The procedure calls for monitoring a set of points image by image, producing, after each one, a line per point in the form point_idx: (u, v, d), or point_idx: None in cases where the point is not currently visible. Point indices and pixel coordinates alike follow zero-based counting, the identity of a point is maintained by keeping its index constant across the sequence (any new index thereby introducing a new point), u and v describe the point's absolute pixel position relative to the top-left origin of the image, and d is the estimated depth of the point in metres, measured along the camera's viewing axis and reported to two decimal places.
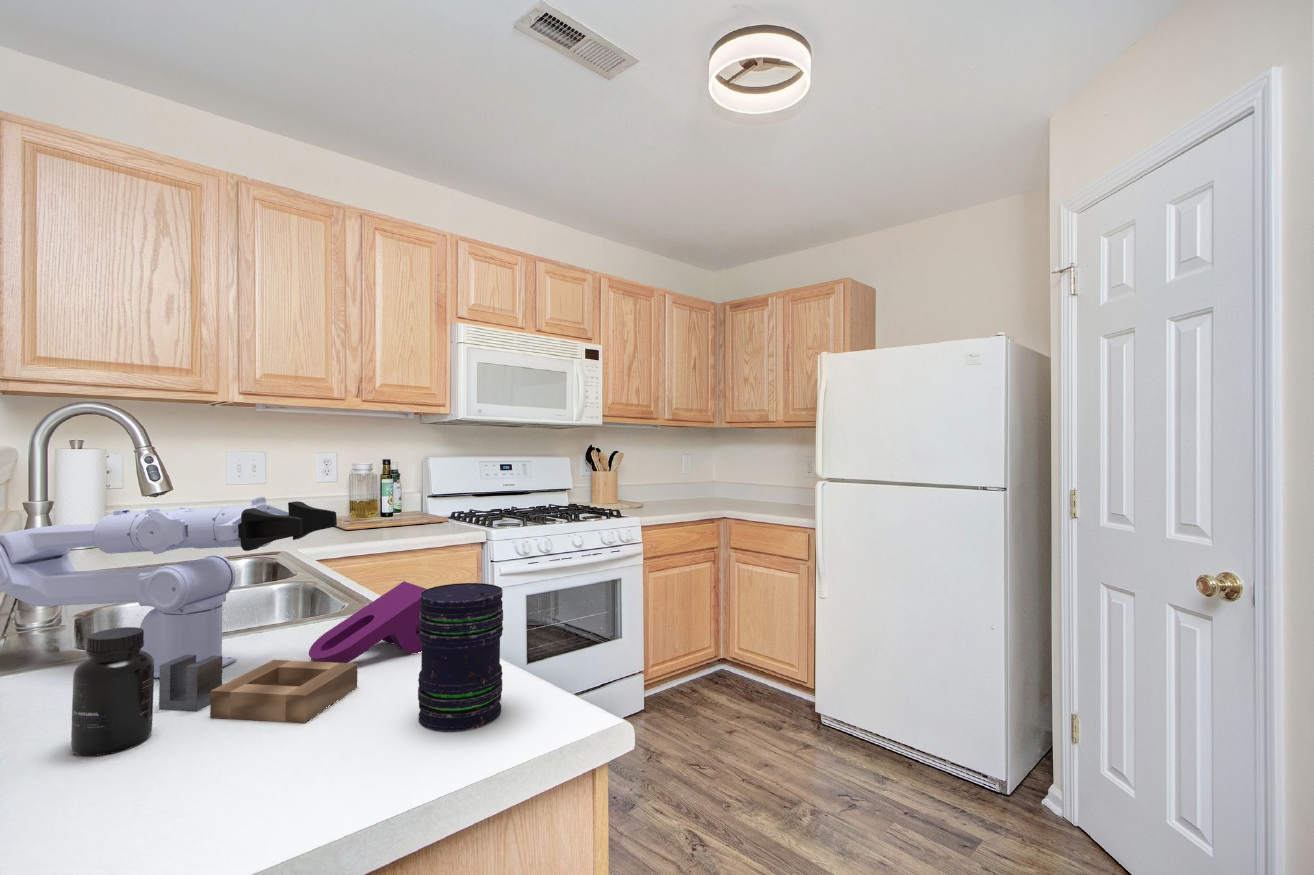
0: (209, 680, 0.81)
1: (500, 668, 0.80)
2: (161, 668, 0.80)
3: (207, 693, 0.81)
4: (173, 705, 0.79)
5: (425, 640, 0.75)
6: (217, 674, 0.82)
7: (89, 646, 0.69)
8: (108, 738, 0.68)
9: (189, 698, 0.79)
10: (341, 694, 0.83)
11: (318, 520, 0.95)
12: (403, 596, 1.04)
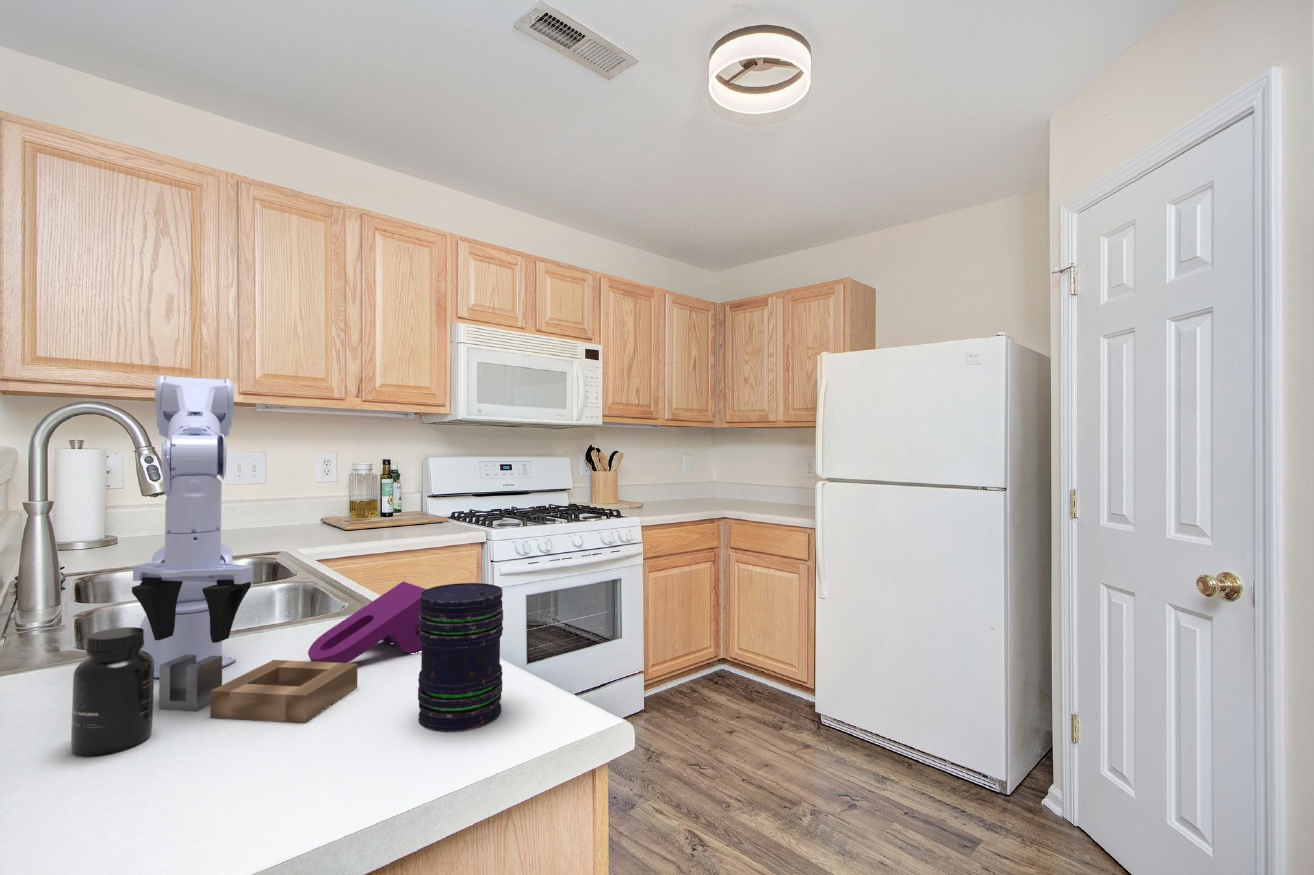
0: (209, 680, 0.81)
1: (500, 668, 0.80)
2: (161, 668, 0.79)
3: (207, 693, 0.81)
4: (173, 705, 0.79)
5: (425, 640, 0.75)
6: (217, 674, 0.82)
7: (89, 646, 0.69)
8: (108, 738, 0.68)
9: (189, 698, 0.79)
10: (341, 694, 0.83)
11: None
12: (402, 597, 1.04)
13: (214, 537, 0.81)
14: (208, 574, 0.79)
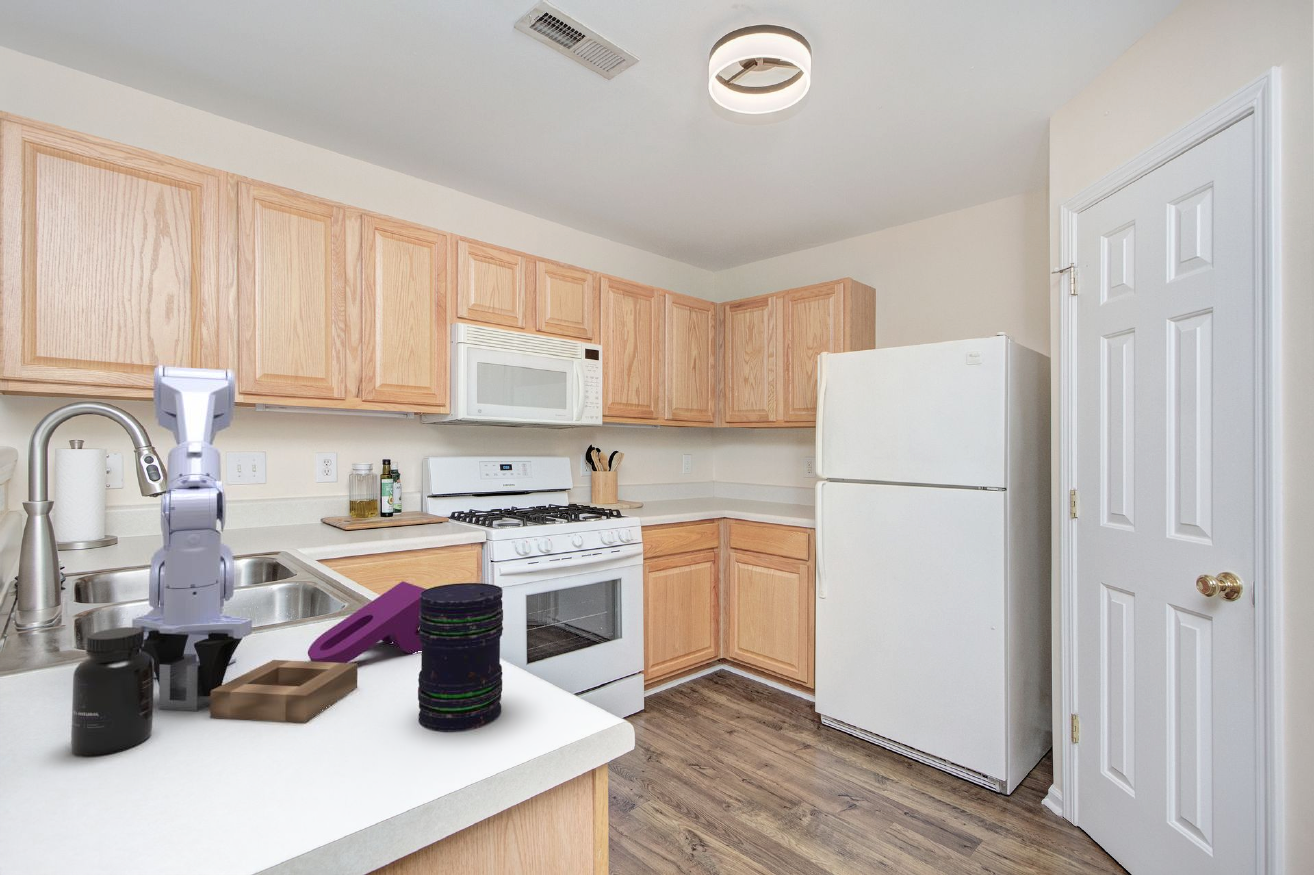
0: None
1: (500, 668, 0.80)
2: (161, 667, 0.79)
3: None
4: (173, 704, 0.79)
5: (425, 640, 0.75)
6: None
7: (89, 646, 0.69)
8: (108, 738, 0.68)
9: (189, 698, 0.79)
10: (341, 694, 0.83)
11: None
12: (402, 596, 1.04)
13: (213, 590, 0.81)
14: (207, 629, 0.79)
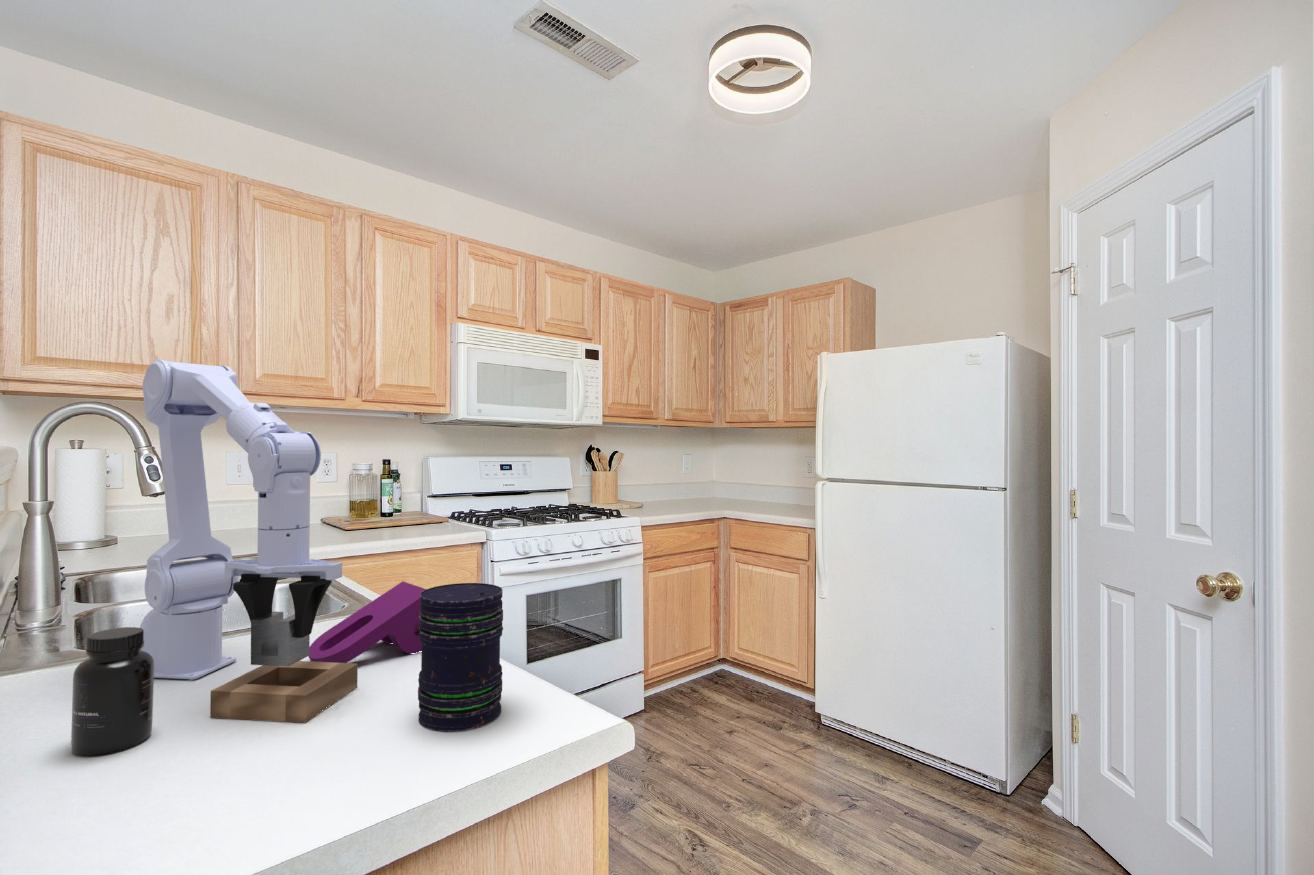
0: None
1: (500, 668, 0.80)
2: (252, 623, 0.80)
3: (297, 648, 0.81)
4: (265, 659, 0.80)
5: (425, 640, 0.75)
6: None
7: (89, 646, 0.69)
8: (108, 738, 0.68)
9: (281, 653, 0.80)
10: (341, 694, 0.83)
11: None
12: (402, 596, 1.04)
13: (305, 533, 0.82)
14: (301, 570, 0.80)
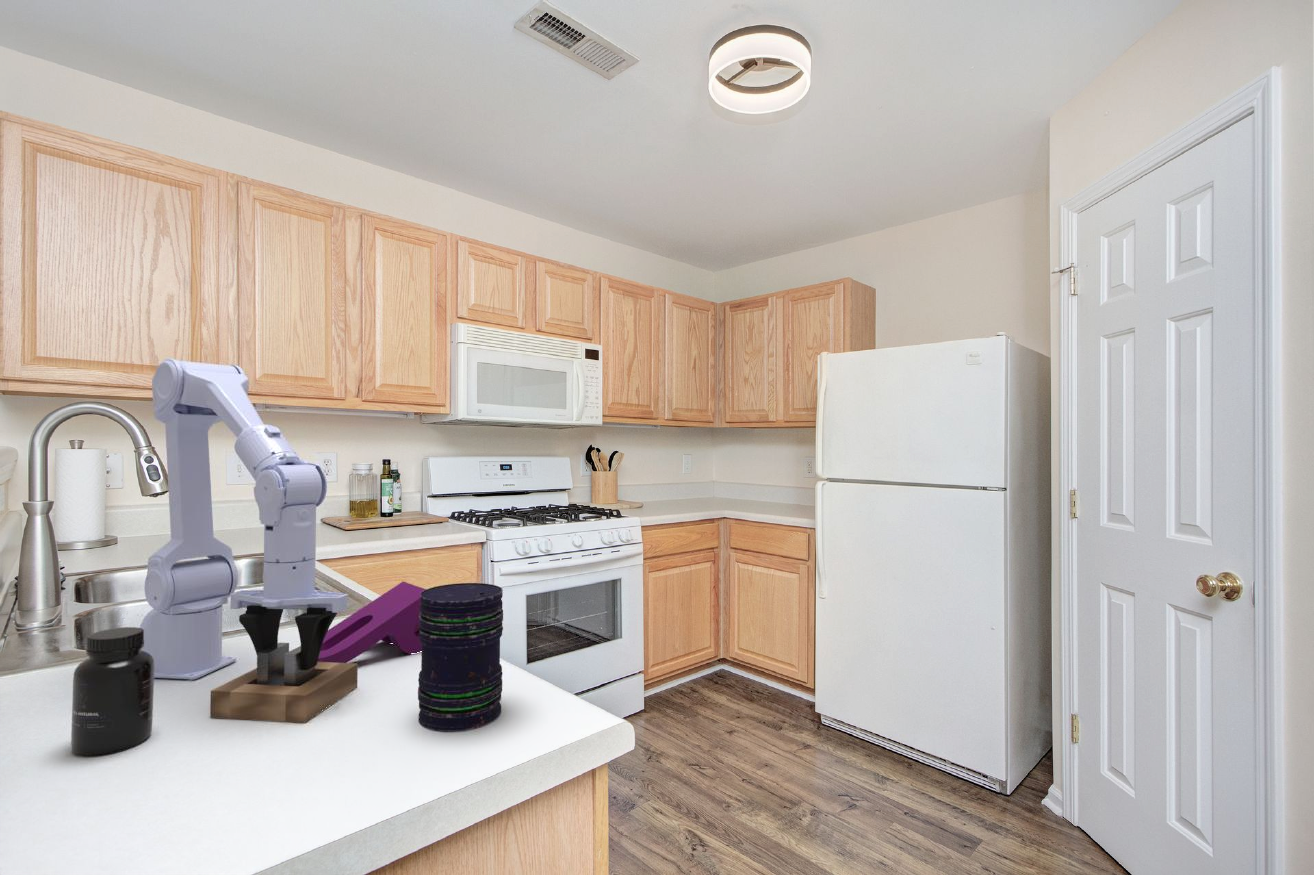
0: None
1: (500, 668, 0.80)
2: (258, 656, 0.80)
3: (303, 680, 0.81)
4: None
5: (425, 640, 0.75)
6: None
7: (89, 646, 0.69)
8: (108, 738, 0.68)
9: (287, 685, 0.80)
10: (341, 694, 0.83)
11: None
12: (402, 597, 1.04)
13: (311, 565, 0.82)
14: (307, 603, 0.80)
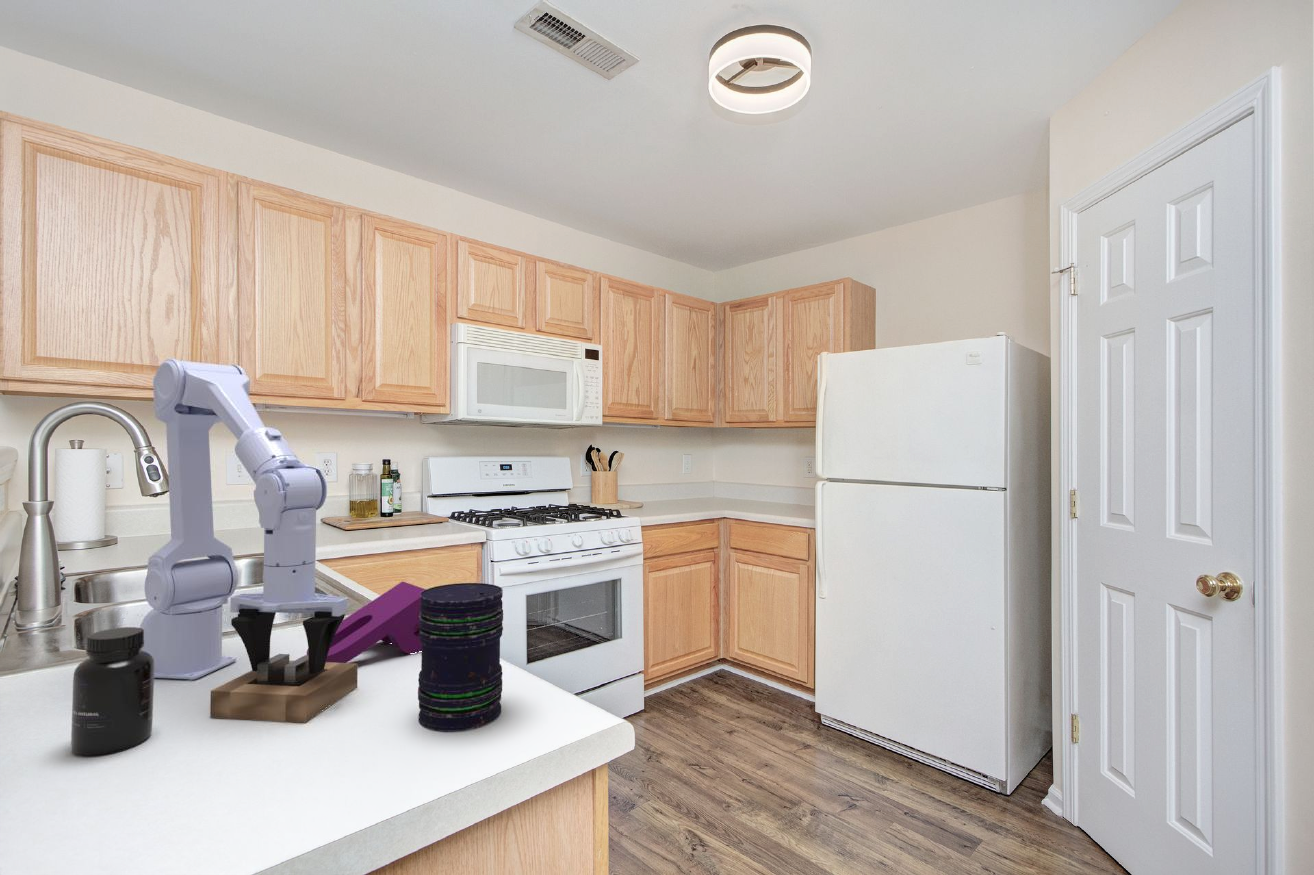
0: (304, 680, 0.81)
1: (500, 668, 0.80)
2: (259, 667, 0.80)
3: None
4: None
5: (425, 640, 0.75)
6: None
7: (89, 646, 0.69)
8: (108, 738, 0.68)
9: None
10: (341, 694, 0.83)
11: None
12: (401, 597, 1.04)
13: (311, 569, 0.82)
14: (307, 607, 0.80)
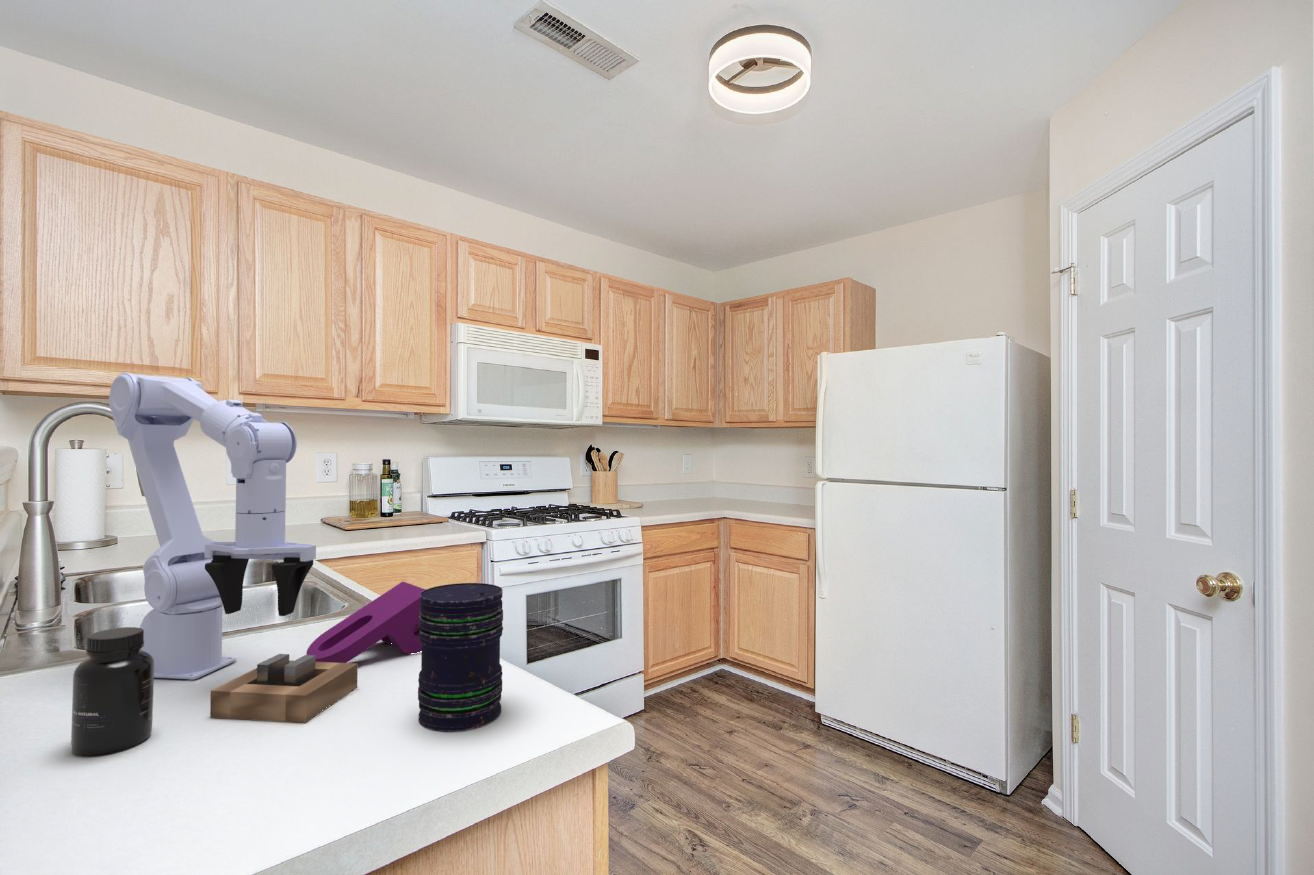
0: (304, 680, 0.81)
1: (500, 668, 0.80)
2: (259, 667, 0.80)
3: None
4: None
5: (425, 640, 0.75)
6: (311, 673, 0.83)
7: (89, 646, 0.69)
8: (108, 738, 0.68)
9: None
10: (341, 694, 0.83)
11: None
12: (401, 597, 1.04)
13: (280, 517, 0.87)
14: (276, 552, 0.85)
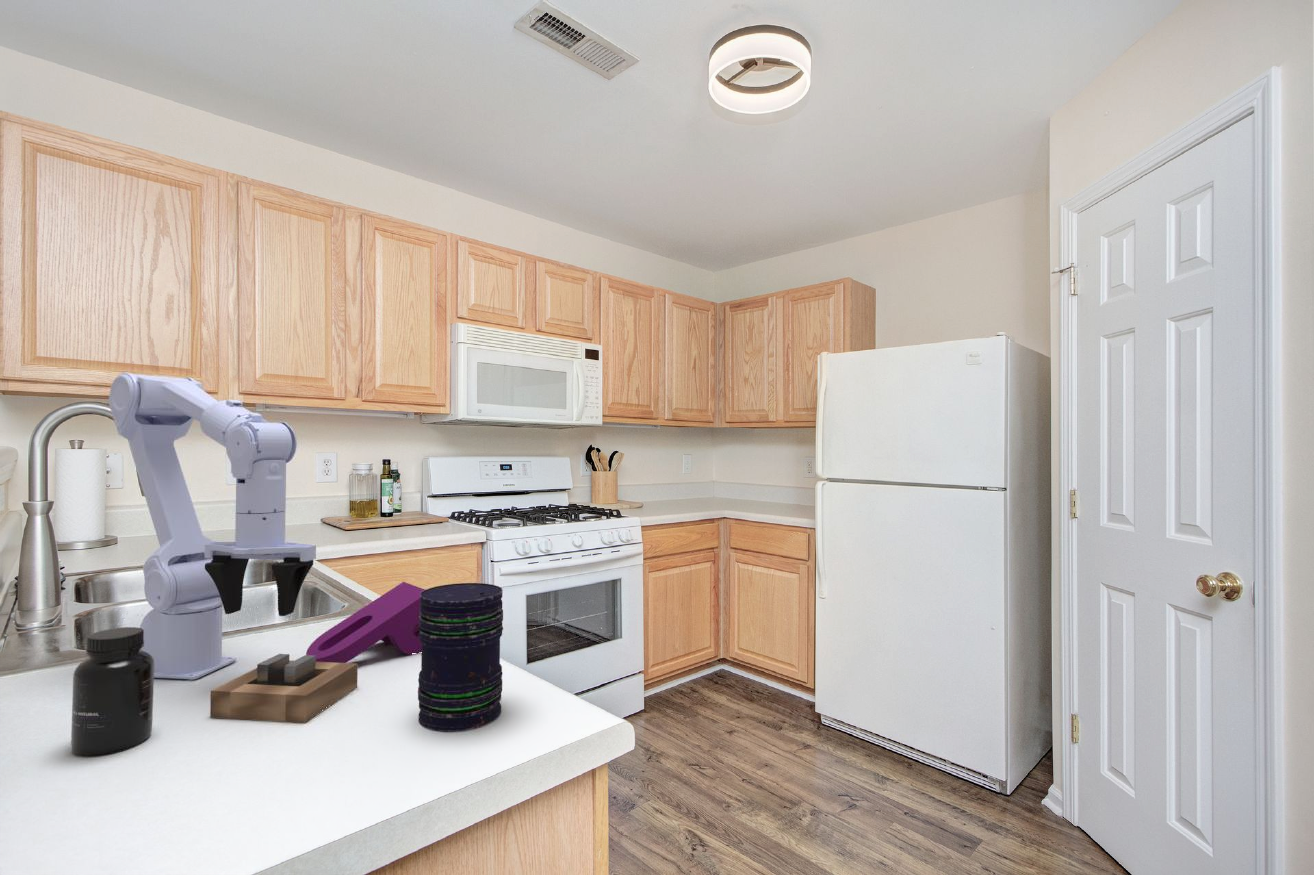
0: (304, 680, 0.81)
1: (500, 668, 0.80)
2: (259, 667, 0.80)
3: None
4: None
5: (425, 640, 0.75)
6: (311, 673, 0.83)
7: (89, 646, 0.69)
8: (108, 738, 0.68)
9: None
10: (341, 694, 0.83)
11: None
12: (401, 597, 1.03)
13: (280, 517, 0.87)
14: (276, 552, 0.85)
